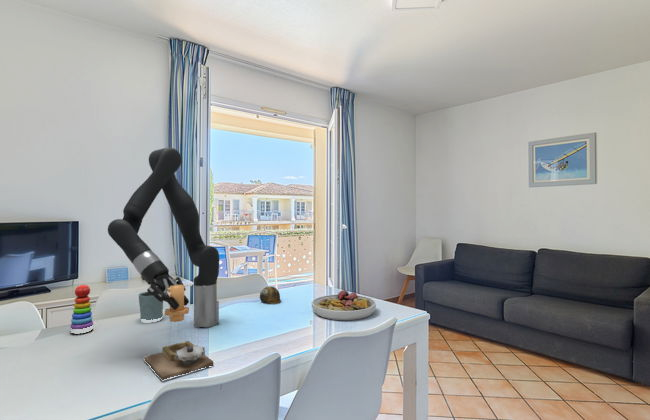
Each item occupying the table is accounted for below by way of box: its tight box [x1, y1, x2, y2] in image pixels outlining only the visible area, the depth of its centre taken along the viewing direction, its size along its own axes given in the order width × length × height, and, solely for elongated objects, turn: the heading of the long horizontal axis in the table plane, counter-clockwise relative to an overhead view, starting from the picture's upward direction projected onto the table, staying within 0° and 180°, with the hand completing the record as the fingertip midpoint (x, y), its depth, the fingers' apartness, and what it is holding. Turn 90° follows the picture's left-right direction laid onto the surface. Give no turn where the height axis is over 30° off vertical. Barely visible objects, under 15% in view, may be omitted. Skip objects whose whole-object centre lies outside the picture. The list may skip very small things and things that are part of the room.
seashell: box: [259, 285, 281, 305], centre depth 185 cm, size 11×9×8 cm
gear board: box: [143, 340, 214, 380], centre depth 111 cm, size 15×18×6 cm
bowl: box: [311, 289, 377, 321], centre depth 167 cm, size 30×30×8 cm
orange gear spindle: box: [164, 284, 190, 323], centre depth 116 cm, size 8×8×11 cm
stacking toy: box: [70, 284, 94, 329], centre depth 141 cm, size 8×8×19 cm
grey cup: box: [138, 291, 164, 320], centre depth 155 cm, size 10×10×12 cm
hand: (182, 305), depth 115 cm, fingers closed on orange gear spindle, 4 cm apart
